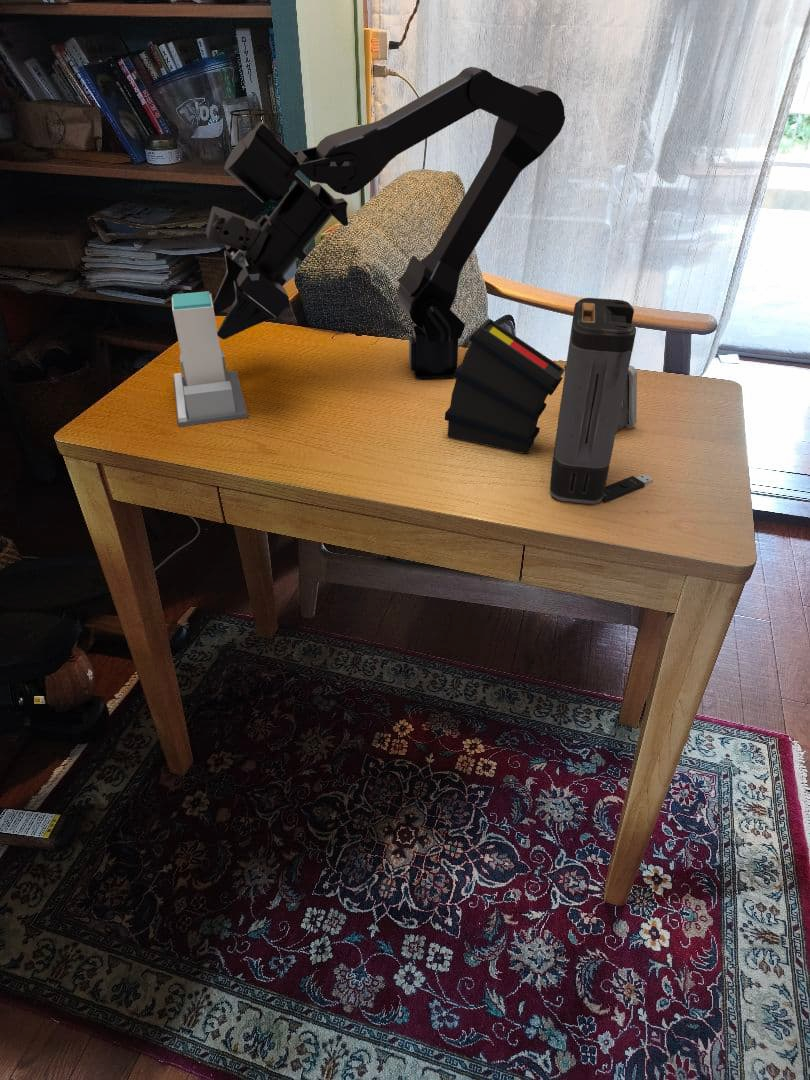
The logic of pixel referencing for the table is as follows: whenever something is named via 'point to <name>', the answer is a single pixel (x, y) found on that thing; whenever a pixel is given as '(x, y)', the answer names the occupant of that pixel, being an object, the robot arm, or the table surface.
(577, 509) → the table surface
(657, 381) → the table surface
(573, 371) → the electronic device
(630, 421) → the electrical switch
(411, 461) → the table surface
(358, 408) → the table surface
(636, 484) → the usb flash drive
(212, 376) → the block
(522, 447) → the magazine
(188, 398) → the rail board
